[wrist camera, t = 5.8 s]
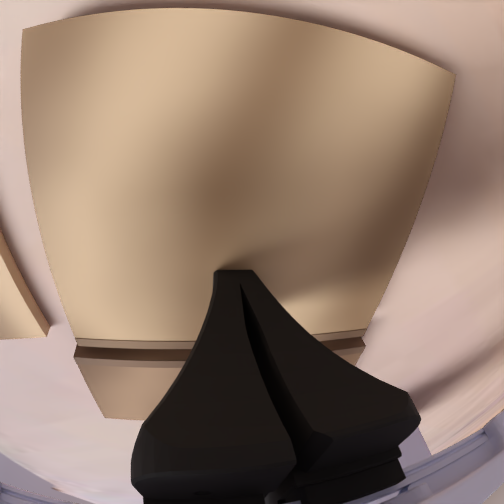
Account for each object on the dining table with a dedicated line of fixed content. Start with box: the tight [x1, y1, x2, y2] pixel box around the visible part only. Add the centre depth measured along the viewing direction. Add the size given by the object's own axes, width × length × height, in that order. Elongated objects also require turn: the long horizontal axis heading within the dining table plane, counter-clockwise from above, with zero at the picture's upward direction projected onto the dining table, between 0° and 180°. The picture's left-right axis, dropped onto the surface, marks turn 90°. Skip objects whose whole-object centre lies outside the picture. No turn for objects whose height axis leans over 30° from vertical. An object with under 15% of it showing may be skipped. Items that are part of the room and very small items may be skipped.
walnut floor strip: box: [74, 336, 366, 420], centre depth 15 cm, size 14×6×1 cm, turn 84°
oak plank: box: [21, 8, 456, 349], centre depth 10 cm, size 13×12×1 cm
